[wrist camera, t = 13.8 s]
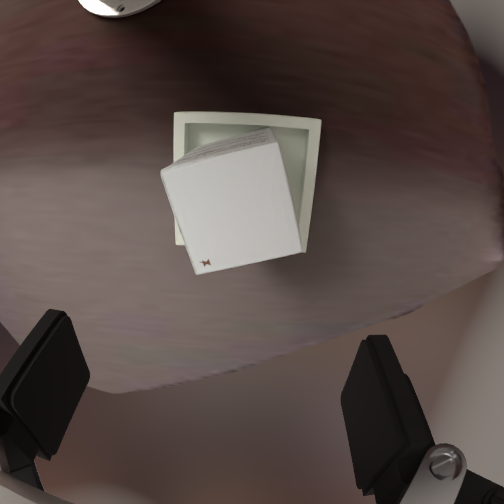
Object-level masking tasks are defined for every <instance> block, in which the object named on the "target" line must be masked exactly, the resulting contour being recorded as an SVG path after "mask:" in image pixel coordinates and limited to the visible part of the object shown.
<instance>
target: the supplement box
mask: <svg viewBox="0 0 504 504" xmlns="http://www.w3.org/2000/svg"><path fill="white" fill-rule="evenodd" d="M161 178H162V181H163V184H164V187H165V190H166V193H167V196H168V198H169V201H170V204H171V207H172V210H173V213H174V216H175V219H176V222H177V225H178V228H179V231H180V233H181V235H182V238H183V241H184V244H185V246H186V249H187V252H188V254H189V257H190V260H191V262H192V265H193V268H194V271H195V274H196V275H201V274H205V273H210V272H214V271H218V270H223V269H228V268H232V267H237V266H242V265H247V264H251V263H256V262H261V261H265V260H270V259H274V258H279V257H284V256H288V255H293V254H297V253H300V252H302V243H301V237H300V231H299V225H298V220H297V215H296V210H295V205H294V200H293V196H292V191H291V187H290V183H289V179H288V175H287V171H286V167H285V163H284V160H283V156H282V153H281V149H280V146H279V143H278V141H277V139H276V137H275V135H274V133H273V131H272V129H271V128H266V129H262V130H257V131H253V132H249V133H245V134H241V135H237V136H233V137H229V138H226V139H222V140H218V141H215V142H211V143H208V144H205V145H201V146H198V147H197V148H195V149H193V150H192V151H190V152H189V153H187V154H186V155H184V156H183V157H181V158H180V159H178V160H177V161H176V162H174V163H173V164H171V165H170V166H168V167H166V168H164V169H162V170H161Z"/></svg>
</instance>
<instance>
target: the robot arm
mask: <svg viewBox="0 0 504 504" xmlns="http://www.w3.org/2000/svg"><path fill="white" fill-rule="evenodd" d="M160 1H161V0H79V2H80V4H81V5H82V6H83V7H84V8H85V9H86V10H88V11H89V12H91V13H93V14H96V15H98V16H102V17H107V18H118V17H126V16H130V15H133V14H137V13H139V12H141V11H144V10H146V9H148V8H150V7H152V6H153V5H155V4H157V3H158V2H160ZM124 8H125V9H124ZM123 9H124V10H123ZM122 10H123V11H122ZM89 379H90V372H89V369H88V366H87V364H86V361H85V358H84V356H83V353H82V350H81V348H80V345H79V342H78V339H77V336H76V334H75V331H74V328H73V325H72V321H71V319H70V317H68V316H67V314H66V313H65V312H64V311H59V310H54V309H49V310H48V311H47V312H46V313H45V314H44V315H43V317H42V318H41V319H40V320H39V322H38V323H37V324H36V326H35V327H34V328H33V330H32V331H31V332H30V333H29V335H28V336H27V337H26V339H25V340H24V342H23V343H22V344H21V346H20V347H19V348H18V350H17V351H16V353H15V354H14V355H13V357H12V358H11V360H10V361H9V362H8V364H7V366H6V367H5V368H4V370H3V371H2V373H1V374H0V504H74V503H71V502H68V501H66V500H63V499H61V498H58V497H56V496H53V495H51V494H49V493H46V492H45V491H44V488H43V486H42V483H41V480H40V477H39V474H38V471H37V468H36V465H35V462H34V459H35V457H36V455H37V456H39V457H41V458H44V459H46V460H49V461H50V459H51V456H52V455H55V454H56V453H57V451H58V448H59V446H60V444H61V441H62V439H63V436H64V434H65V432H66V430H67V427H68V425H69V423H70V420H71V418H72V416H73V414H74V412H75V409H76V407H77V405H78V403H79V401H80V398H81V396H82V394H83V392H84V390H85V388H86V386H87V384H88V382H89ZM341 406H342V411H343V415H344V420H345V426H346V430H347V435H348V441H349V446H350V451H351V457H352V462H353V468H354V474H355V479H356V485H357V487H358V489H362V491H363V496H367V495H373V494H375V499H376V503H377V504H504V487H502V486H500V485H498V484H496V483H494V482H492V481H490V480H488V479H485V478H483V477H482V476H479V475H477V474H475V473H473V472H472V471H469V470H468V469H467V462H466V458H465V456H464V454H463V453H462V451H461V450H460V449H459V448H457V447H456V446H454V445H451V444H447V443H440V444H437V445H435V443H434V440H433V437H432V434H431V431H430V429H429V426H428V423H427V421H426V418H425V416H424V413H423V410H422V408H421V405H420V403H419V400H418V398H417V395H416V393H415V390H414V388H413V386H412V383H411V381H410V379H409V377H408V376H407V375H406V374H404V373H403V371H402V368H401V366H400V363H399V361H398V359H397V356H396V354H395V352H394V349H393V347H392V345H391V343H390V340H389V338H388V337H387V335H368V337H367V338H366V340H362V341H361V343H360V346H359V349H358V352H357V354H356V357H355V360H354V363H353V365H352V368H351V371H350V373H349V376H348V379H347V381H346V384H345V386H344V389H343V391H342V394H341Z"/></svg>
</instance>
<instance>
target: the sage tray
mask: <svg viewBox="0 0 504 504" xmlns="http://www.w3.org/2000/svg"><path fill="white" fill-rule="evenodd" d="M266 128H271V129H272V131H273V133H274V135H275V137H276V139H277V141H278V143H279V146H280V149H281V153H282V156H283V160H284V163H285V167H286V171H287V175H288V179H289V183H290V187H291V191H292V196H293V200H294V205H295V210H296V215H297V220H298V225H299V231H300V237H301V243H302V252H303V253H306V248H307V241H308V234H309V226H310V219H311V211H312V203H313V195H314V187H315V178H316V169H317V160H318V151H319V141H320V131H321V120H320V119H316V118H307V117H297V116H287V115H274V114H260V113H242V112H204V111H188V112H174V162H176V161H177V160H178V159H180V158H181V157H183V156H184V155H186V154H187V153H189V152H190V151H192V150H193V149H195V148H197V147H198V146H201V145H205V144H208V143H211V142H215V141H218V140H222V139H226V138H229V137H233V136H237V135H241V134H245V133H249V132H253V131H257V130H262V129H266ZM175 238H176V245H185V244H184V241H183V238H182V235H181V233H180V231H179V228H178V225H177V222H176V219H175Z"/></svg>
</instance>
